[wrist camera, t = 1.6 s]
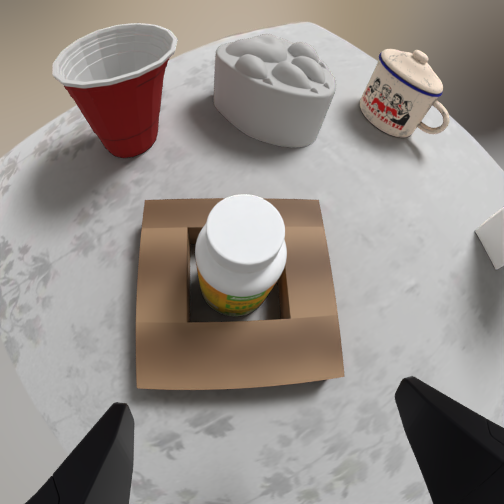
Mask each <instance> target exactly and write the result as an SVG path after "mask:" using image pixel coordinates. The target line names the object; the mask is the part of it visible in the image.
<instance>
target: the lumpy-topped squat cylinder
mask: <svg viewBox="0 0 504 504" xmlns="http://www.w3.org/2000/svg"><path fill="white" fill-rule="evenodd" d="M335 90H336V81H335V78H334V76H333V74H332V72H331V71H330V69H329V68H328V67H327V65H326V64H325V63H324V62H323V61H321V60H320V59H319V57H318V54H317V52H316V50H315V49H314V48H313V47H312V46H311V45H309V44H307V43H303V42H297V43H292V42H290V41H288V40H285V39H283V38H280V37H276V36H274V35H272V34H262V35H260V36H255V37H252V38H248V39H240V40H237V41H235V42H230V43H226V44H223V45H221V46H219V47H218V49H217V50H216V56H215V75H214V105H215V107H216V108H217V110H218V111H219V112H220V113H221V114H222V115H223V116H224V117H225V118H226V119H227V120H228V121H229V122H230V123H231V124H233V125H234V126H235V127H236V128H238V129H239V130H240V131H242V132H243V133H244V134H246V135H248V136H250V137H252V138H254V139H257V140H260V141H263V142H266V143H269V144H273V145H276V146H282V147H293V148H298V147H305V146H308V145H310V144H312V143H313V142H314V141H315V140H316V138H317V136H318V133H319V131H320V128H321V126H322V123H323V121H324V118H325V116H326V113H327V111H328V108H329V106H330V104H331V101H332V98H333V96H334V94H335Z"/></svg>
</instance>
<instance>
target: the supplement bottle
mask: <svg viewBox="0 0 504 504" xmlns="http://www.w3.org/2000/svg"><path fill="white" fill-rule="evenodd" d="M284 238H285V226H284V222H283V219H282V217H281V215H280V213H279V212H278V210H277V209H276V208H275V207H274V206H273V205H272V204H271V203H269V202H268V201H266V200H264V199H262V198H260V197H258V196H254V195H248V194H239V195H233V196H230V197H227V198H225V199H223V200H222V201H220V202H219V203H217V204H216V205H215V206H214V208H213V209H212V210H211V212H210V214H209V216H208V218H207V222H206V224H205V226H204V227H203V228H202V230H201V231H200V233H199V235H198V238H197V242H196V248H195V257H196V265H197V271H198V277H199V284H200V289H201V292H202V295H203V297H204V299H205V301H206V302H207V303H208V305H209V306H210V307H212V308H213V309H214V310H216V311H217V312H219V313H221V314H224V315H227V316H242V315H246V314H249V313H251V312H253V311H254V310H256V309H257V308H258V307H259V306H260V305H261V304H262V303H263V302H264V300H265V299H266V297H267V296H268V294H269V293H270V291H271V290H272V288H273V286H274V285H275V283H276V282H277V280H278V279H279V277H280V275H281V274H282V272H283V269H284V267H285V263H286V258H287V249H286V243H285V240H284Z"/></svg>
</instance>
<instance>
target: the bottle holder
mask: <svg viewBox="0 0 504 504" xmlns="http://www.w3.org/2000/svg"><path fill="white" fill-rule="evenodd" d="M223 199H225V198H214V199H165V200H145V204H144V212H143V221H142V230H141V241H140V252H139V265H138V281H137V302H136V380H137V388H141V389H165V390H213V389H238V388H254V387H267V386H278V385H287V384H296V383H305V382H312V381H319V380H326V379H333V378H339V377H344V366H343V356H342V346H341V337H340V329H339V321H338V313H337V305H336V298H335V291H334V284H333V278H332V271H331V265H330V259H329V253H328V247H327V241H326V236H325V230H324V225H323V220H322V214H321V209H320V204H319V200H306V199H264V200H266V201H268V202H269V203H271V204H272V205H273V206H274V207H275V208H276V209H277V210H278V212H279V213H280V215H281V217H282V219H283V222H284V226H285V238H284V240H285V243H286V249H287V258H286V263H285V267H284V269H283V272H282V274H281V275H280V277H279V279H278V280H277V281H278V291H279V302H280V313H281V319H277V320H258V321H234V322H190V244H196V242H197V238H198V235H199V233H200V231H201V230H202V228H203V227H204V226H205V224H206V222H207V218H208V216H209V214H210V212H211V210H212V209H213V208H214V206H215V205H216V204H217V203H219V202H220V201H222V200H223Z"/></svg>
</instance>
